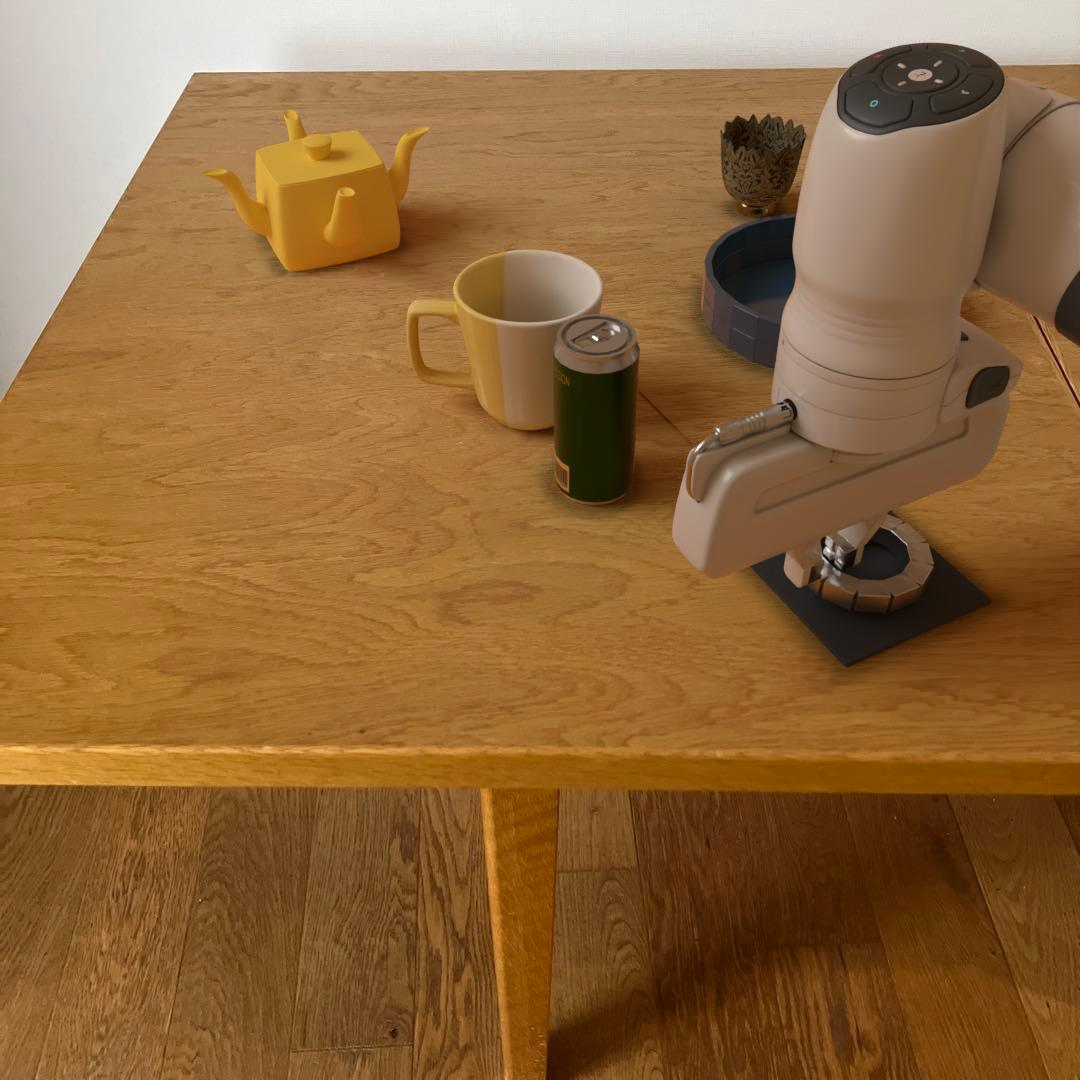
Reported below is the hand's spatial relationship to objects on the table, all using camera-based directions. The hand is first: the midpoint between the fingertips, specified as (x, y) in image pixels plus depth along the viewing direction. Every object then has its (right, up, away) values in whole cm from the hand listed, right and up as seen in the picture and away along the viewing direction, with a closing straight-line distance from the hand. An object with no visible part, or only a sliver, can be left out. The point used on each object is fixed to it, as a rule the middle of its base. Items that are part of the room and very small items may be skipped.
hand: (821, 569), depth 72 cm
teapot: (-36, +28, +36) cm, 58 cm away
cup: (+3, +32, +38) cm, 50 cm away
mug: (-19, +12, +17) cm, 28 cm away
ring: (+3, 0, +2) cm, 3 cm away
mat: (+3, -1, +3) cm, 4 cm away
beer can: (-13, +5, +10) cm, 17 cm away
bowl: (+5, +20, +25) cm, 32 cm away
